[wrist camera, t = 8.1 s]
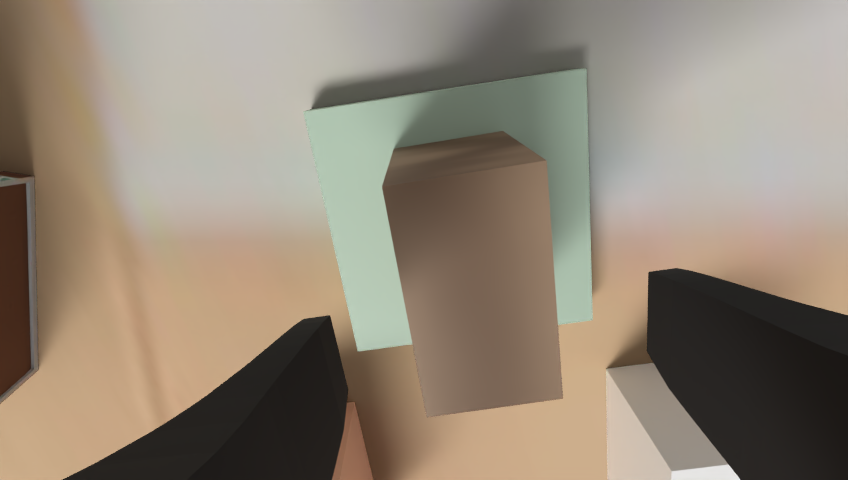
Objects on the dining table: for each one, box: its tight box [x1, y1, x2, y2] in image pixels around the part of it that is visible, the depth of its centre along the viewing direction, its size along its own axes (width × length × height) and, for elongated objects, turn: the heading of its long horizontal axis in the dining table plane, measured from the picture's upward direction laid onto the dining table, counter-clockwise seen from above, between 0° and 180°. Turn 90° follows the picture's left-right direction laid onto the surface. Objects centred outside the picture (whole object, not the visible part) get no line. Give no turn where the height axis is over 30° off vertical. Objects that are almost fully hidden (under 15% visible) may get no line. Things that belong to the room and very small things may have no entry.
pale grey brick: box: [606, 363, 740, 480], centre depth 20 cm, size 4×7×6 cm, turn 8°
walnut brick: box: [382, 131, 563, 417], centre depth 15 cm, size 4×7×6 cm, turn 9°
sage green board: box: [304, 68, 593, 351], centre depth 18 cm, size 10×10×1 cm
